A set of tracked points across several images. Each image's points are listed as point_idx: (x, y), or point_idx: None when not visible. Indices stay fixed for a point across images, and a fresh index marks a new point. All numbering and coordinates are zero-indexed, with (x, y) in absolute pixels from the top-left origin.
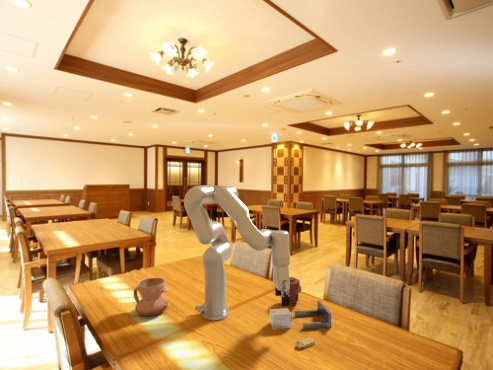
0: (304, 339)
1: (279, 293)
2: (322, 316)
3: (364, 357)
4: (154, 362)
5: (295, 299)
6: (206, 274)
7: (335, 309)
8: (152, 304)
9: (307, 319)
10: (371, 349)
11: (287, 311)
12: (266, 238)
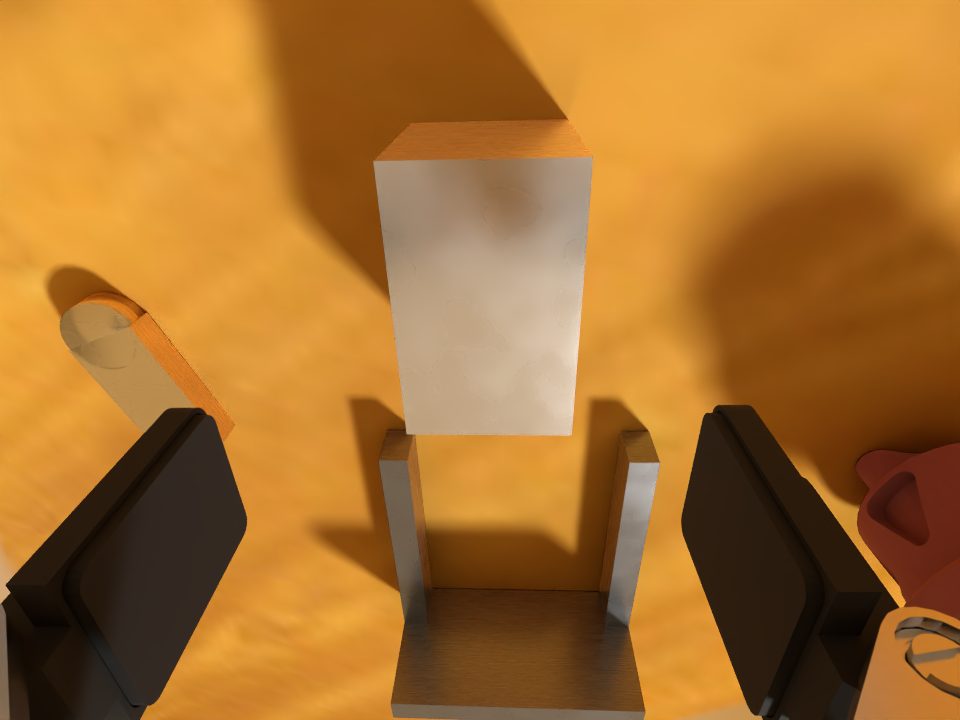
0: (174, 394)
1: (706, 511)
2: (520, 616)
3: None
4: None
5: (875, 548)
6: None
7: (642, 693)
8: None
9: (551, 506)
10: (183, 670)
11: (477, 410)
12: None
